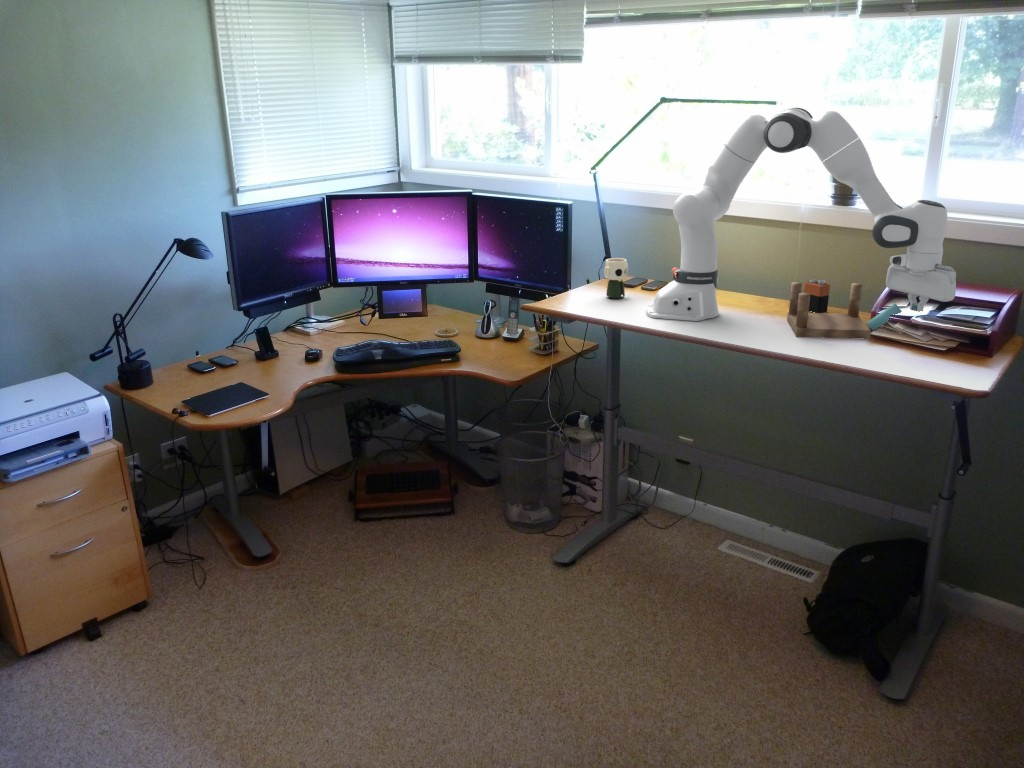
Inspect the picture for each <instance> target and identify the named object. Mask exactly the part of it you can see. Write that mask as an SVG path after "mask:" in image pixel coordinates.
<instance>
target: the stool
mask: <svg viewBox="0 0 1024 768" xmlns="http://www.w3.org/2000/svg"><path fill="white" fill-rule="evenodd" d="M850 285H851V286H850V293H849V294H850V295H849V303H848V310H847V313H836V312H835V313H833V312H832V313H831V312H830V313H829V312H825V313H812V312H808V311H809V302H810V294H809V293H803V292H802V291H803V290H802V288H803V283H802V282H799V281H793V282H791V285H790V286H791V287H790V295H789V296H790V297H789V306H788V307H789V308H788V311H787V316H786V320H787V323H788V325H789V326H790V328H791V330H792V332H793V335H795V338H817V339H818V338H821V339H822V337H824V339H828V338H829V339H852V338H864V339H863V340H868V339H867V338H870V339H871V334H872V329H871V328H870V327H869V325H868V324H867V323H865V322H864V320H863V319H862V318H861V317H860V316H859V315H860V309H861V308H860V307H861V300H862V291H863V283H860V282H859V283H858V282H853V283H851V284H850Z"/></svg>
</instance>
